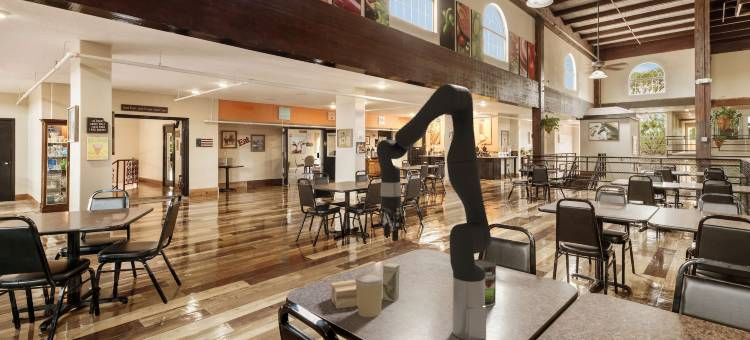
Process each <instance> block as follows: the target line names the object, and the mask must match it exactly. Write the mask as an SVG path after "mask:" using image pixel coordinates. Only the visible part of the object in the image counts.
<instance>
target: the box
mask: <svg viewBox="0 0 750 340" xmlns="http://www.w3.org/2000/svg"><path fill="white" fill-rule="evenodd" d="M400 267H401V265H400V264H398V263H393V262H392V263H391V262H386V263H385V264H384V265H383V267H382V278H383V287H382V300H385V301H387V302H388V301H389V302H392V303H393V302H396V301H398V299H399V297H400Z"/></svg>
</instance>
